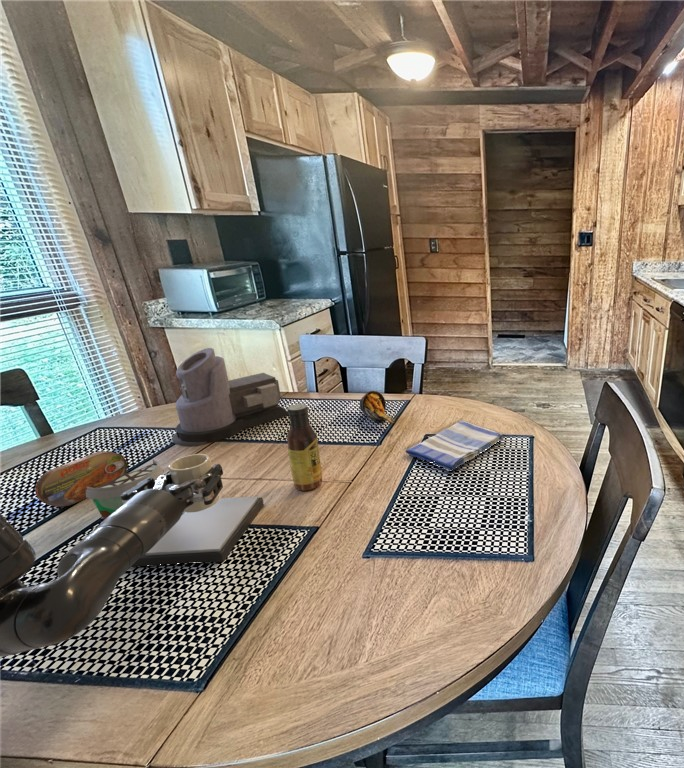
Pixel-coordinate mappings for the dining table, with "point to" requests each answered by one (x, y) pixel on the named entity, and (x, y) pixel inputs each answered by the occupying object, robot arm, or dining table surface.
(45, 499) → the tin
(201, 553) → the kitchen scale
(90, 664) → the dining table surface
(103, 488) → the food container
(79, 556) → the robot arm
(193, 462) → the cup
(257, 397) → the juicer
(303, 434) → the sauce bottle
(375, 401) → the fried shrimp in bowl
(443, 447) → the dish towel
